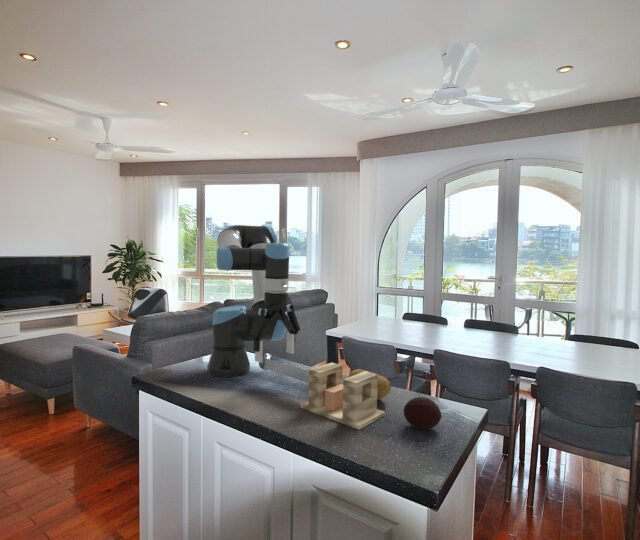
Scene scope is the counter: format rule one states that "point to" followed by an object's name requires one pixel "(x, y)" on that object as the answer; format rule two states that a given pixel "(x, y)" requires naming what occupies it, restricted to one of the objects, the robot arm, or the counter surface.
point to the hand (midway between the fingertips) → (275, 357)
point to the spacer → (334, 397)
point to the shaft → (286, 367)
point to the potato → (382, 385)
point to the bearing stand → (344, 396)
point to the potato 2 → (422, 413)
